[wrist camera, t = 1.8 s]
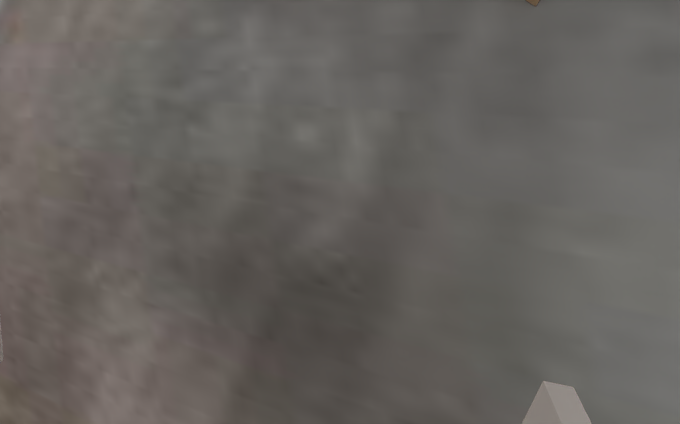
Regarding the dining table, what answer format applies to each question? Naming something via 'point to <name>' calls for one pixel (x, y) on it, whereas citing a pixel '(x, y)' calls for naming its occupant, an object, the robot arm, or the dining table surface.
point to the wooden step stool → (533, 2)
